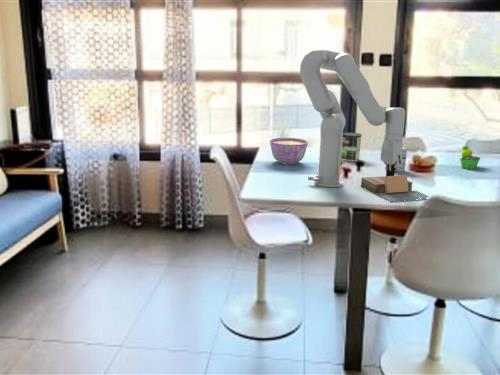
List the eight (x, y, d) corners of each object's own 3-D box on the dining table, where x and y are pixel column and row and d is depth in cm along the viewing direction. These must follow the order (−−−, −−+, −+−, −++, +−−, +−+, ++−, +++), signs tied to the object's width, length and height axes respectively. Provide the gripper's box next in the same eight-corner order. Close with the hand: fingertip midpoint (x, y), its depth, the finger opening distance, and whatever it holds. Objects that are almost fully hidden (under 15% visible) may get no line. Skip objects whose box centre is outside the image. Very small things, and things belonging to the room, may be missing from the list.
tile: (385, 193, 220) (387, 192, 218) (383, 176, 221) (386, 176, 219) (405, 191, 223) (408, 191, 221) (404, 175, 223) (407, 175, 221)
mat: (390, 202, 209) (390, 201, 209) (375, 193, 220) (375, 193, 220) (432, 199, 215) (433, 198, 214) (416, 191, 226) (416, 190, 225)
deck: (374, 193, 220) (375, 184, 219) (360, 186, 232) (361, 177, 230) (411, 191, 225) (412, 182, 224) (396, 184, 237) (397, 175, 235)
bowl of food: (308, 167, 263) (309, 145, 260) (269, 166, 264) (270, 144, 261) (305, 159, 283) (306, 138, 280) (268, 158, 283) (269, 137, 280)
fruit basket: (473, 170, 267) (476, 149, 264) (456, 167, 272) (459, 146, 269) (479, 166, 275) (482, 145, 272) (462, 164, 281) (465, 143, 278)
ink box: (389, 171, 259) (391, 148, 256) (384, 169, 264) (387, 146, 261) (405, 171, 261) (407, 148, 258) (400, 169, 266) (403, 146, 263)
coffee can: (347, 162, 279) (349, 136, 275) (336, 158, 288) (338, 132, 284) (363, 160, 283) (365, 135, 279) (352, 156, 292) (354, 131, 288)
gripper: (376, 134, 226) (373, 175, 231) (395, 140, 212) (391, 183, 217) (391, 133, 228) (388, 174, 233) (411, 139, 215) (407, 182, 220)
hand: (389, 178), depth 225 cm, fingers closed
